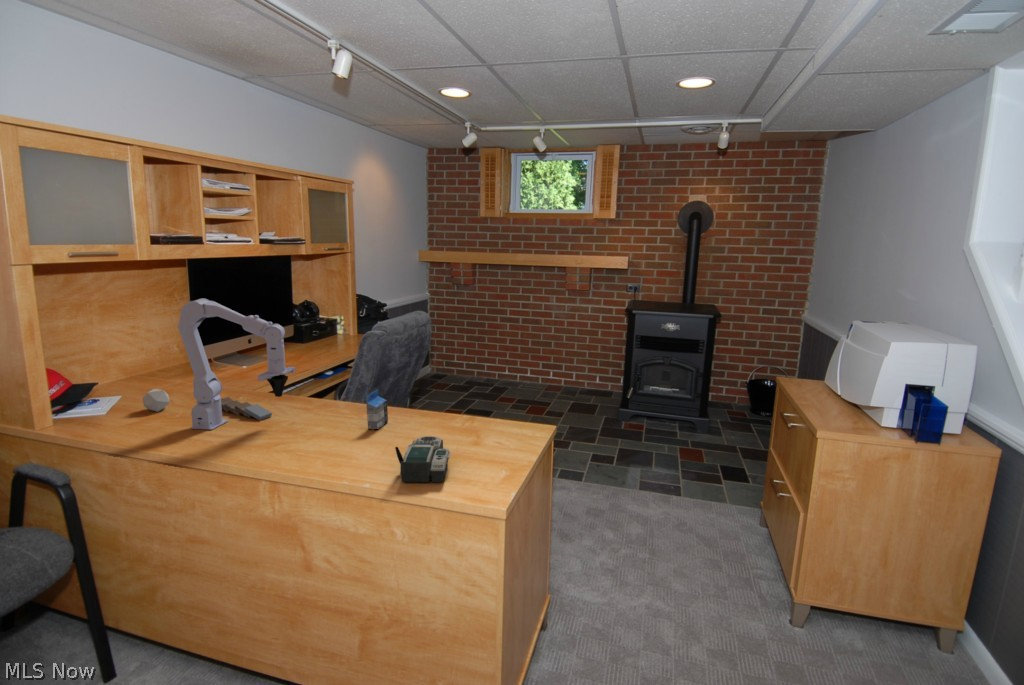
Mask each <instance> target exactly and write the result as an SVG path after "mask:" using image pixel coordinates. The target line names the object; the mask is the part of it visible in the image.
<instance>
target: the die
mask: <svg viewBox="0 0 1024 685" xmlns="http://www.w3.org/2000/svg"><path fill="white" fill-rule="evenodd" d="M170 403H171V401H170V396H169V394H168V393H167V392H166V391H165V390H163V389H158V388H153V389H151V390H150V391H147V392H146V393H145V395H143V396H142V404H143V407H144V408H146V409H147V410H149V411H153V412H160V411H161V410H164V409H165V408H166V407H167V406H168V405H169V404H170Z"/></svg>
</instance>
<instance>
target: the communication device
mask: <svg viewBox="0 0 1024 685" xmlns="http://www.w3.org/2000/svg"><path fill="white" fill-rule="evenodd" d="M394 449H395V452H396V458H397V459H398V463H399V465H400V469H399V470H400V475H401V482H402V483H429V482H430V481H431V482H432V483H443V482H444V481H445V480H446V477H447V471H448V462H449V459H450V456H451V453H452V452H451V451H449V450H450V449H449V448H444V440H443V439H442V438H440V437H438V436H432V435H431V436H430V435H428V436H427V435H425V436H420V437H417V438H415V439H414V440H413V441H412V443H411V444H408V446H407V448H406V451H405V453H404V456H403V455H402V453H401V451H400V449H399V446H396V447H395V448H394Z"/></svg>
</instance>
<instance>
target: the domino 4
mask: <svg viewBox="0 0 1024 685" xmlns="http://www.w3.org/2000/svg"><path fill="white" fill-rule="evenodd" d="M251 405H252V406H249V407H246V408H245V412H246V413H248V414H249V415H251V416H253V417H252V418H255V419H256V420H258V421H260V420H261V421H263V420H265V418H266V419H268V417H269V418H271V417H272V415H273V412H271V411H269V410H267V409H266V408H264V407H262V406H260V405H259V404H257V403H256V404H251ZM270 416H271V417H270ZM262 419H263V420H262Z"/></svg>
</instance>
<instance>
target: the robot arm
mask: <svg viewBox="0 0 1024 685" xmlns="http://www.w3.org/2000/svg"><path fill="white" fill-rule="evenodd" d="M215 317H219V318H220V319H224V320H226V321H230V322H233V323H236V324H238V325H241V326H242V327H241V328H242V329H243V330H244V331H246V332H248V333H251V334H253V335H255V336H258V337H261V338H263V339H264V341H266V358H267V359H266V360H267V361H266V362H267V371H265V372H263V373H260V374H258V375H257V381H259V382H264V381H265V380H266V381H267V383H268V384H269V385H270V386H271V388H272V390H273V394H274V396H275V397H276V398H280V397H282V396H283V393H284V387H286V386H285V385H286V384H287V381H288V380H289V376H288V375H287V374H292V373H293V374H295V373H296V367H295V366H289V367H286V353H285V350H286V349H285V343H284V342H285V341H284V340H285V339H284V337H285V335H286V330H285V328H284V327H283V326H282V325H280V324H279V323H273V322H272V321H267V320H265V319H262V318H261V317H260V316H259V315H258V314H255V315H252V314H250V315H248V316H247V315H243V314H241V313H239V312H238V311H236V310H232V309H231V308H229V307H227V306H225V305H222V304H221V303H218V302H216V301H214V300H209V299H207V298H203V297H202V298H198V299H195V300H190V301H187V302H186V303H185V304H184V305H183V306H182V308H181V309H180V316H179V320H178V325H177V328H178V332H179V335H180V336H181V340H182V344H183V346H184V349H185V350H184V351H185V353H186V355H187V358H188V361H189V364H190V367H191V370H192V373H193V376H194V377H193V380H192V385H193V392H192V393H193V394H192V395H193V397H194V399H195V400H196V404H195V405H194V406H193V407H192V408H191V410H190V412H191V413H190V414H191V424H192V426H190V429H192V430H193V429H194V430H209V431H211V430H214V429H217V428H218V427H220V426H222V425H223V424H225V423H227V422H229V419H225V418H223V411H222V407H221V399H222V397H221V394H220V393H221V392H222V390H223V384H222V382H221V381H220V380H219V379H218V378H217V374H215V373H214V372H213V371H212V370H211V369H212V368H211V366H210V362H209V360H208V357H207V353H206V351H205V348H204V345H203V342H202V339H201V336H200V332H199V329H198V327H199V326H200V325H201V323H203V321H204V320H205V319H206V318H215Z"/></svg>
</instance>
